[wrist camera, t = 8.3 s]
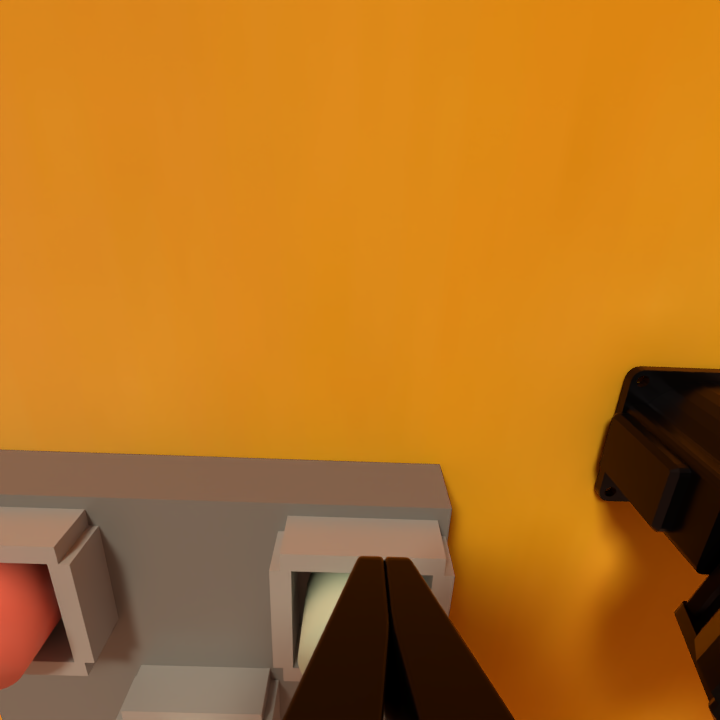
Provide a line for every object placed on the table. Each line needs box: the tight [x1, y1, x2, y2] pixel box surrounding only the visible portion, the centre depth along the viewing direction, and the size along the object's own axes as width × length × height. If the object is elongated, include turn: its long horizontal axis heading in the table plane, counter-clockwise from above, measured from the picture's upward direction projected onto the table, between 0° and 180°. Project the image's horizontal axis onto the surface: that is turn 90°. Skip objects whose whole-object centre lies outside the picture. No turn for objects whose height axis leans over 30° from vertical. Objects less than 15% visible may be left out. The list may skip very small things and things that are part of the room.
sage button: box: [298, 572, 350, 675], centre depth 18 cm, size 4×4×3 cm
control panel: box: [0, 450, 455, 720], centre depth 22 cm, size 21×17×5 cm
